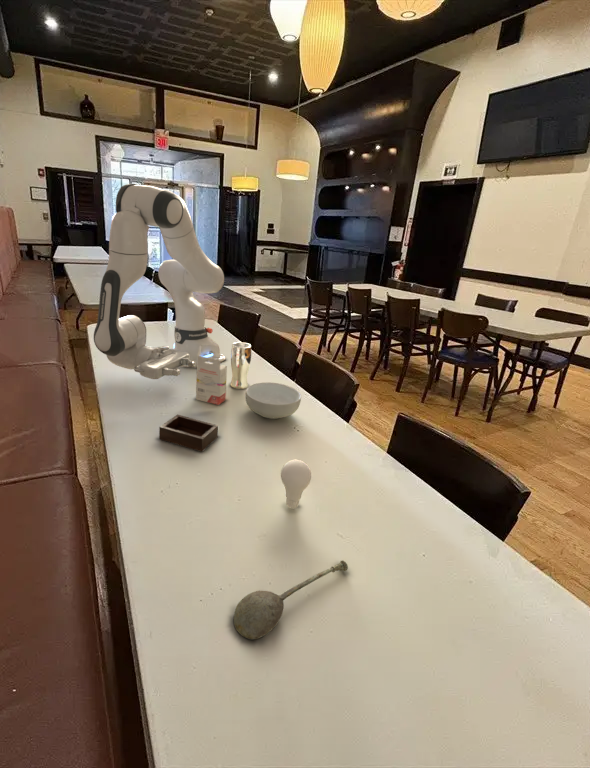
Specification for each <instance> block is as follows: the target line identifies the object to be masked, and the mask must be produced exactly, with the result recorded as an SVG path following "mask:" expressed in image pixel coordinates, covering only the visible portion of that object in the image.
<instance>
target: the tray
mask: <svg viewBox="0 0 590 768" xmlns="http://www.w3.org/2000/svg"><path fill="white" fill-rule="evenodd" d="M158 430H159V431H158V432H159V433H158V434H159V440H161V441H164V442H168V443H171V444H174V445H178V446H181V447H184V448H188V449H191V450H195V451H198V452H201V453H202V452H204V451H205V449H207V448H208V447H209V446H210V445H211V444H212V443H213V442H215V441H216V440H217V439H218V437H219V436H218V435H219V425H217V424H215V423H211V422H207V421H203V420H201V419H197V418H193V417H188V416H184V415H181V414H176V415H175V416H173V417H172V418H170V419H169V420H167V421H166V422H164V423H163V424H162V425H160V426H159V428H158Z"/></svg>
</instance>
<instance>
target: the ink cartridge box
mask: <svg viewBox="0 0 590 768" xmlns="http://www.w3.org/2000/svg"><path fill="white" fill-rule="evenodd" d="M205 361H210V362H212V363H209V362H205ZM221 363H222V361H220V360H216V359H212V358H207V357H202V356H198V362H197V367H196V381H195V382H196V384H195V386H196V387H195V400H198V401H201V402H206V403H209V404H213V405H216V406H219V405H221V404H222V403H224V402H225V401H226V399H227V373H228V366H227V365H224V364H223V365H222V364H221Z"/></svg>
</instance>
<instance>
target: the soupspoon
mask: <svg viewBox="0 0 590 768" xmlns="http://www.w3.org/2000/svg"><path fill="white" fill-rule="evenodd" d="M348 569H349V566H348V563H347V562H346V561H345V560H340V562H339V563H338V564H336V565H334V566H330V567H329V568H328V569H325V570H323V571H321V572H319V573H317V574H315V575H313V576H311V577H309V578H307V579H305V580H304V581H302V582H300V583H298V584H296V585H295V586H292V587H290V588H289V589H287V590H285V591H284V592H282V593H280V594H279V595H278V594H276V593H274V592H272V591H268V590H255V591H252V592H250V593H248V594H247V595H245V596H243V597H242V598H241V600H240V601H238V603H237V604H236V607H235V609H234V612H233V624H234V628H235V630H236V631H237V633H238V634H239V635H241V636H242V637H244V638H245V639H247V640H258V639H261V638H262V637H264V636H266V635H267V634H268V633H270V632H271V631H272V630H273V629H274V628H275V627H276V626H277V625H278V623H279V622H280V620H281V618H282V616H283V613H284V607H285V606H284V600H286V599H287V598H288V597H290V596H292V595H293V594H295V593H296V592H298V591H300V590H301V589H303V588H304V587H306V586H308V585H310V584H312V583H313V582H315V581H317V580H319V579H321V578H323V577H324V576H326V575H329V574H330V573H335V572H338V571H343V572H346V571H348Z"/></svg>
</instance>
